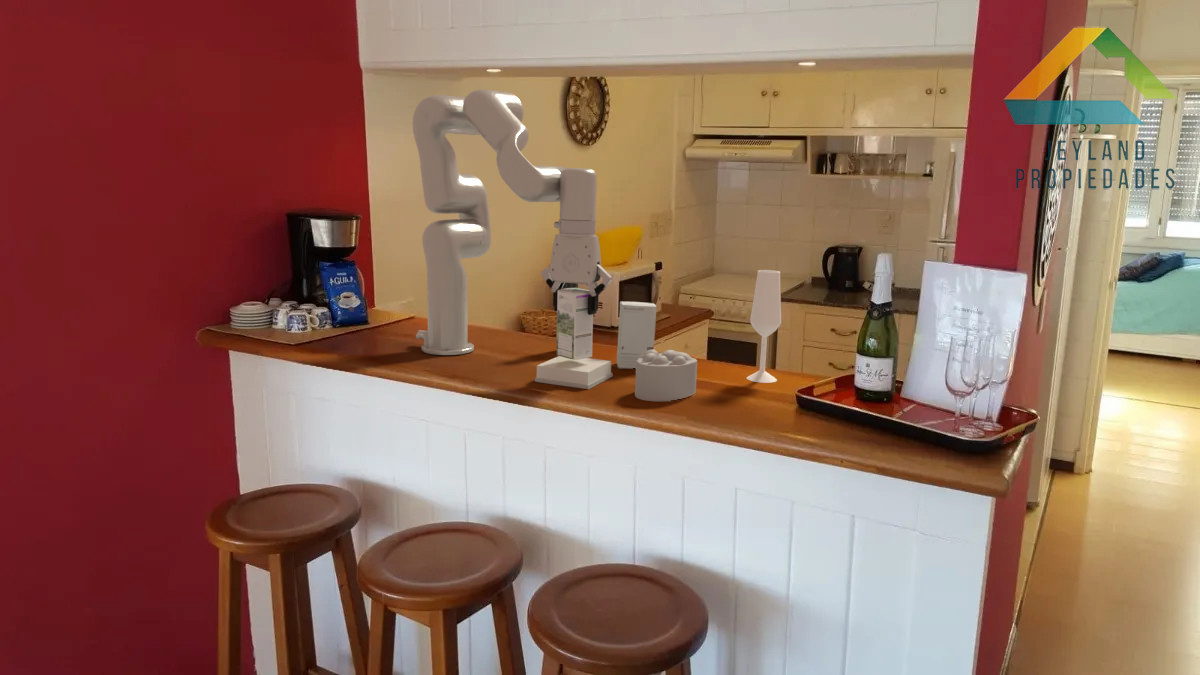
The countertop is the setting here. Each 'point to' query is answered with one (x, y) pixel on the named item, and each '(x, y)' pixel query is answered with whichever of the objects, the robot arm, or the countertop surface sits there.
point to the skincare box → (635, 332)
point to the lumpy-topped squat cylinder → (665, 376)
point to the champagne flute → (765, 316)
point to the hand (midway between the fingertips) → (575, 311)
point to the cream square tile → (574, 372)
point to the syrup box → (574, 324)
